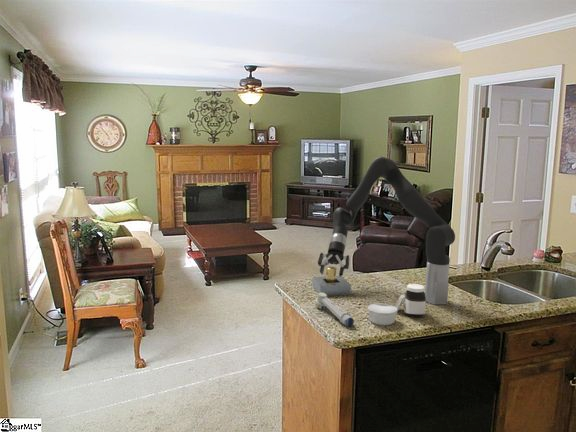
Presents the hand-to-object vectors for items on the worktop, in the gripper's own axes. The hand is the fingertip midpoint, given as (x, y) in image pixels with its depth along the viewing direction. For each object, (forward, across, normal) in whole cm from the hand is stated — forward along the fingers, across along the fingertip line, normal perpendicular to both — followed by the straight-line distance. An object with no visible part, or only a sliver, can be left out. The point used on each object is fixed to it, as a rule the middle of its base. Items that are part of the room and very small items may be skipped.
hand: (330, 274), depth 218 cm
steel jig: (+4, 0, +6) cm, 8 cm away
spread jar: (+17, +36, -6) cm, 40 cm away
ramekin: (+26, +27, -14) cm, 40 cm away
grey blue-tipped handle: (+26, +8, -15) cm, 31 cm away
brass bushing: (+4, 0, +6) cm, 7 cm away
